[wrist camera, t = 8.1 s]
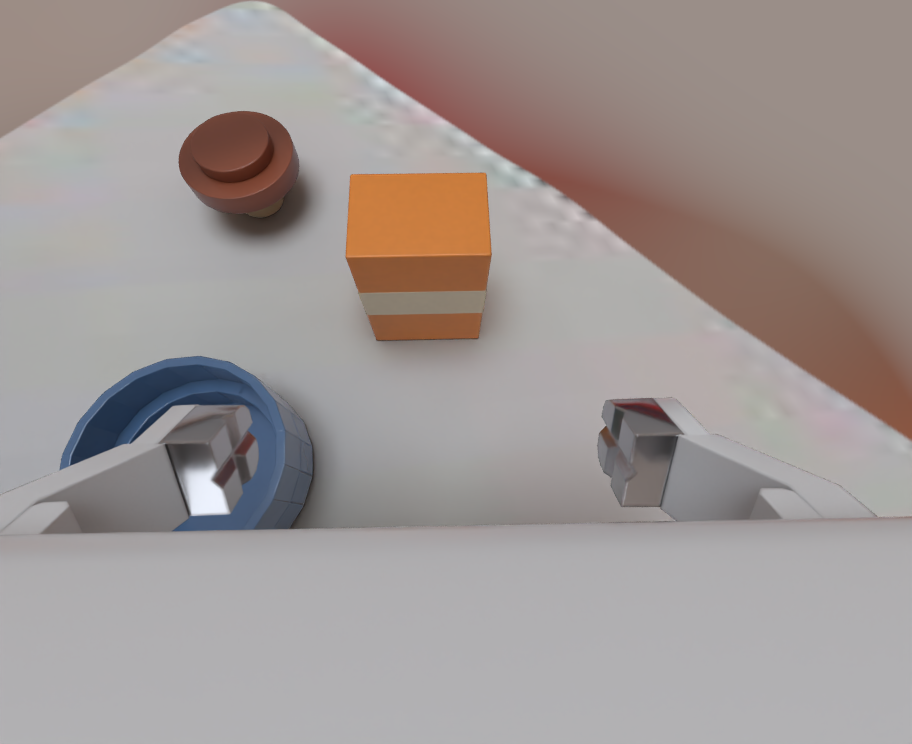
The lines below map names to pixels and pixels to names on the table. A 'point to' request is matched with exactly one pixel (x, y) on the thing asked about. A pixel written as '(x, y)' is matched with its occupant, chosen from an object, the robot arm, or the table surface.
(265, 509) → the blue bowl
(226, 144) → the wooden mushroom
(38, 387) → the table surface
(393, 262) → the juice carton
